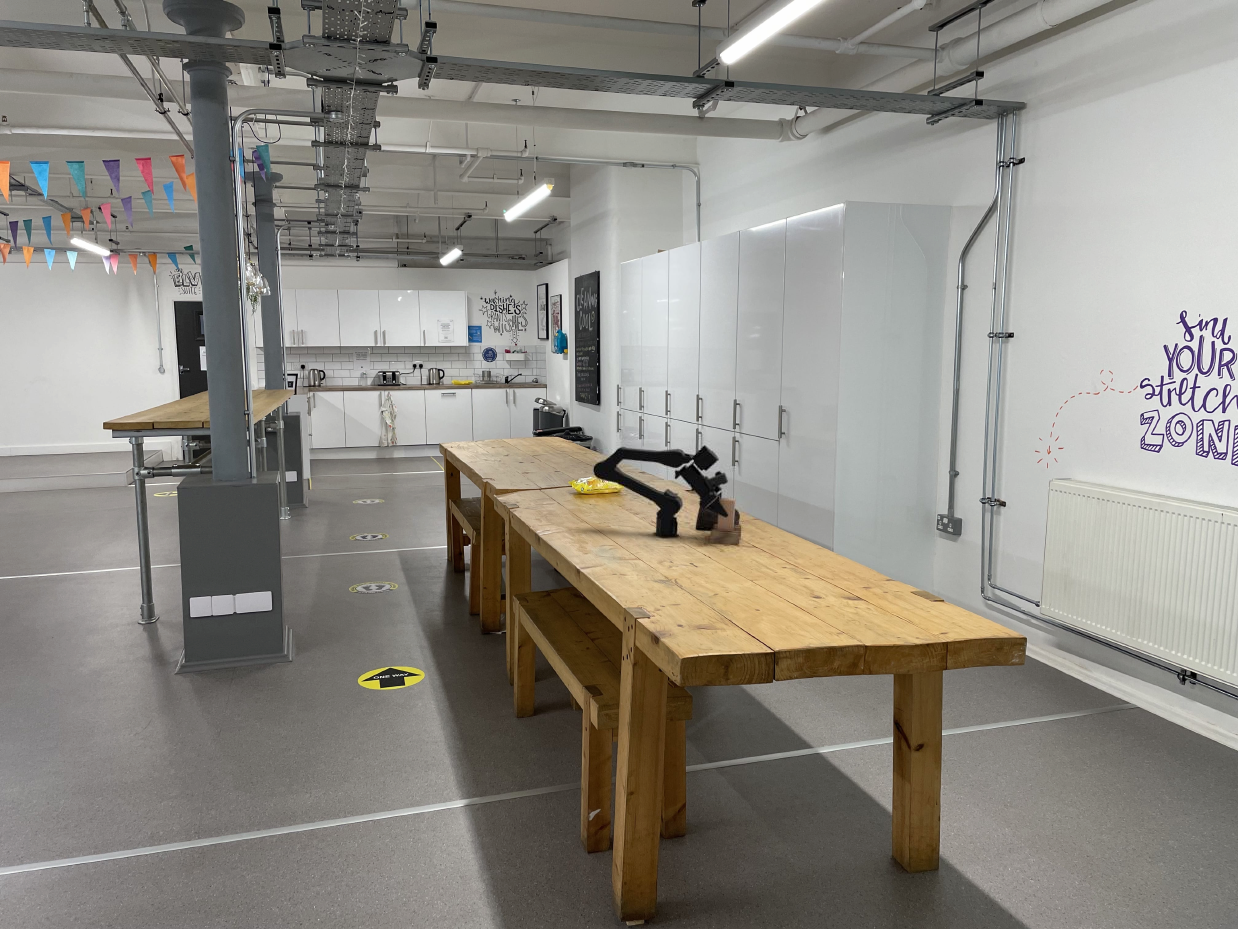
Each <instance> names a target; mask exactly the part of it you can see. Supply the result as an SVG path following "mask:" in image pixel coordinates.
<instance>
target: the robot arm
mask: <svg viewBox="0 0 1238 929" xmlns="http://www.w3.org/2000/svg"><path fill="white" fill-rule="evenodd" d="M623 460H628V461H629V460H630V461H637V462H638V461H639V462H647V463H657V464H660V465H663V466H665V467H669V468H673V469H675V471H674V479H675V480H677V479H678V478H679V477H681V478H682V479H683V480H684V481H685V483H686V484H688V486H689V487H690V488H691V489H690V490H691V491H692V492H694V493H696V495H697V496H698V497H699V501H698V505H699V507H701V508H702V509H704V508H705V507H706V509H708V510H711V511H713V512H715V513H717V514H719V515H721V516H724V517H727V516H728V514H727V512H726V511H725V509H724V508H723V506H722V504H721V503H720V498H723V496H722V495H723V491H722V489H723V488H722V487H721V486H722V485H725V484H727V483H728V482H729V479H728V477H727V474H726V472H721V470H718V471H716V472H714V473H715V474H714V476H712V477H710V478H709V477H708V476H707V475H705V476H704V474H703V473H702V471H705V472H706V471H708V470H709V469H711V467H714V465H715V464H716V463H717V462H718V461H719V460H720V458H719V457H718V456H717V455H716V453H715V451H713V450H711V449H710V448H709V447H708V446H707V445H705V444H704V445H703V446H702V447H701V448H699V450H698V451H696V453H695V454H692V453H691V454H690V453H686V452H684V451H683V450H682V449H679V448H674V449H672V448H671V449H663V450H656V449H655V450H653V449H643V448H632V447H625V446H620V447H619V448H617V449H616V450H615V451H614V452H613V453H612V454H611V455H609V456H608V457H607V458H606V459H603V460H600V461H598V462H596V463H595V464H594V466H593V468H592V469H593V471H592V472H593V475H594V476H595V477H596V478H597V479H599V480H602V481H606V482H609V483H616V484H618V485H620V486H622V487H623V488H626V489H628V490H630V491H631V492H633V493H635V494H638V495H639V496H641V497H643V498H645V499H647V500H649V501H650V502H653V503H654V504H655V505H656V506H657V508H659V509H658V511H656V513H655V514H656V523H655V532H653V533H652V534H653V535H655V536H658V537H660V538H673V537H674V538H675V537H680V534H678V524H679V523H678V517H677V516H676V514H678V513H679V512H680V511H681V509H682V508H683V503H684V502H683V500H682V497H680V496H679V493H676V492H673V491H672V490H670V489H669V488H666V489H665V491H661V490H659V489H657V488H654V487H653V486H651V485H649V484H646V483H645V482H642V481H641V480H639V479H637V478H635V477H634V476H631V475H629V474H627V473H626V472H623V471H622V469H620V468H619V467H618V465H619V464H620V463H621V462H623ZM692 461H693V462H692ZM690 462H691V463H690ZM688 464H689V465H688ZM678 468H680V469H679V470H678Z"/></svg>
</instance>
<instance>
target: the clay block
mask: <svg viewBox="0 0 1238 929" xmlns="http://www.w3.org/2000/svg"><path fill="white" fill-rule="evenodd" d="M720 503H721V504H722V506H723V508H724V509H725V511H726V512H727V514H728V516H727V517H724V516H721V515H719V514H718V530H729V531H734V514H735V509H736V508H735V507H736V498H732V497H731V498H729V497H722V498H720Z"/></svg>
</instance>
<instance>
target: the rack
mask: <svg viewBox="0 0 1238 929" xmlns="http://www.w3.org/2000/svg"><path fill="white" fill-rule="evenodd" d="M741 537H742V525H738V526H737V525H734V531H729V530H718V524H714V528H713V529H711V531H710V539H709V543H710V544H717V543H719V544H720V545H723V544H724V545H731V546H732V545H733V546H739V544H740V541H741ZM739 540H740V541H739Z"/></svg>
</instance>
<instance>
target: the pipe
mask: <svg viewBox="0 0 1238 929" xmlns="http://www.w3.org/2000/svg"><path fill="white" fill-rule="evenodd" d="M740 519H741V514H740V512H739V510H738V509H736V508H735V514H734V525H737V526H740V525H739V524H740ZM714 524H718V514H717V513H715V512H713V511H711V510H708V509H706V507H705V508H704V509H702V508H701V507H700V506H699V508H698V512H697V516H696V521H695V529H704V530H712V529H713V528H714Z"/></svg>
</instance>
